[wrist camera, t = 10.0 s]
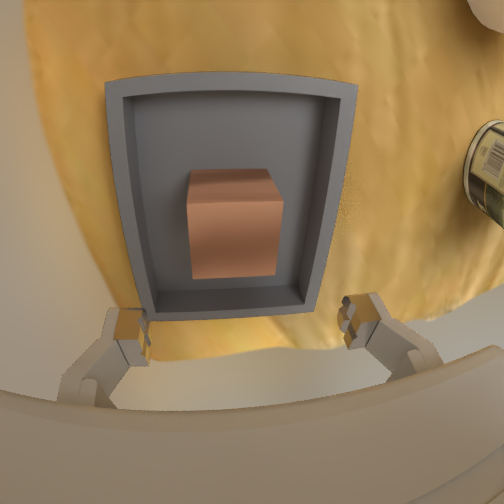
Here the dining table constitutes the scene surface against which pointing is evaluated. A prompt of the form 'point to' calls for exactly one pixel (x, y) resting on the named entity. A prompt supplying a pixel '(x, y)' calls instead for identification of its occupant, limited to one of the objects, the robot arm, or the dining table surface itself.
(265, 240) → the block
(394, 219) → the dining table surface
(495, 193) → the coffee can
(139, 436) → the robot arm
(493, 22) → the foam cup
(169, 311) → the tray
